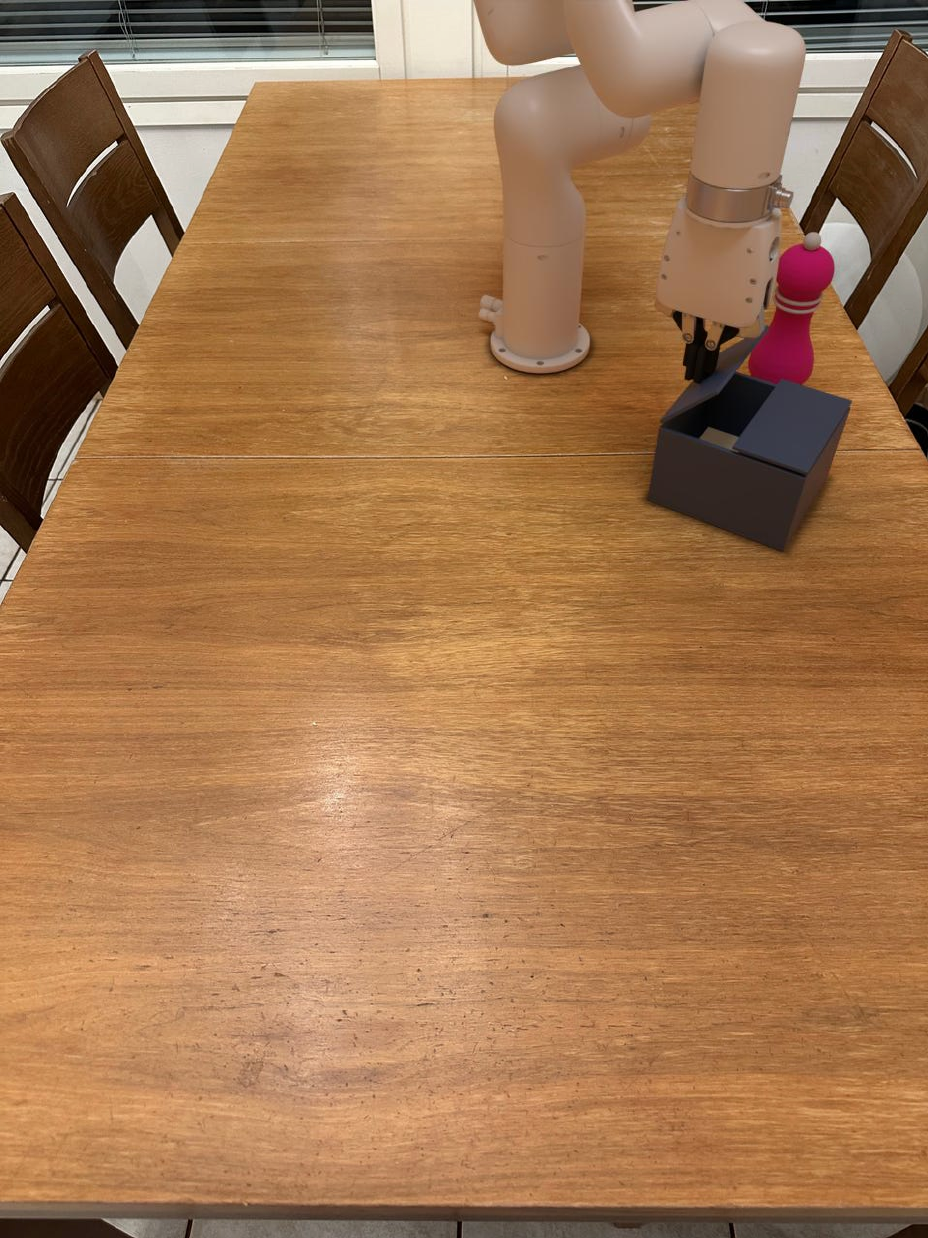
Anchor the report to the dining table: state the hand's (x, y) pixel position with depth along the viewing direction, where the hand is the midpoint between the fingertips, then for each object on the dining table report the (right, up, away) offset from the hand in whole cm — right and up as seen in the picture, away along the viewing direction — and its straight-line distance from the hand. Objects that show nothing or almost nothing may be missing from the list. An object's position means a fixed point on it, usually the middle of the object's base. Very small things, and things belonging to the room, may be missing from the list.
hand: (697, 374), depth 95 cm
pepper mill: (+13, +2, +18) cm, 22 cm away
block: (+3, -9, +7) cm, 12 cm away
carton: (+6, -11, +7) cm, 14 cm away
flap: (+2, 0, -1) cm, 2 cm away
